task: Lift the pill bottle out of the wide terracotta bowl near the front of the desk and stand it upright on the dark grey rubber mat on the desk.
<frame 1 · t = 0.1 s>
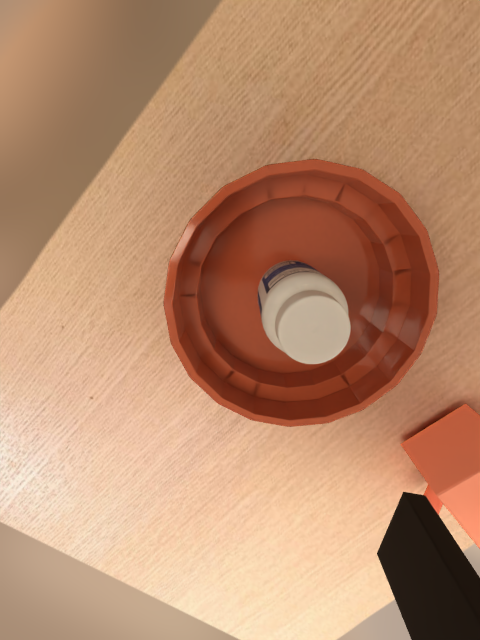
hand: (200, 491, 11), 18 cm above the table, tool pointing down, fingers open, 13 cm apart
pink cube teapot: (440, 446, 32), on the table
bowl: (289, 291, 28), on the table
pill bottle: (289, 291, 28), resting on bowl
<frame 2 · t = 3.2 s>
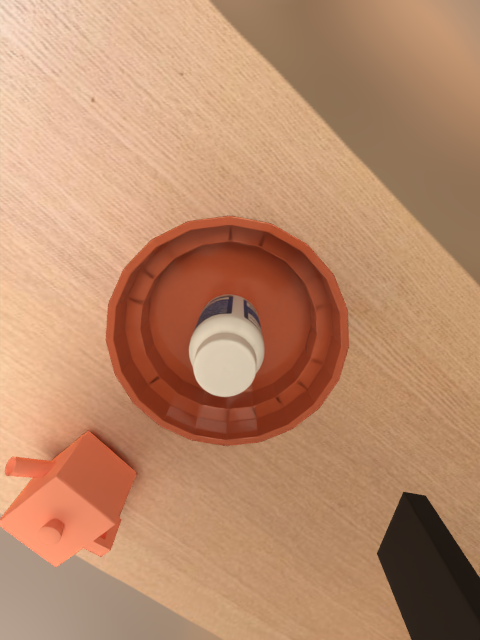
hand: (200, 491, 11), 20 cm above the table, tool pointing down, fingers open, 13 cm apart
pink cube teapot: (88, 460, 35), on the table
bowl: (229, 321, 31), on the table
pill bottle: (229, 321, 31), resting on bowl
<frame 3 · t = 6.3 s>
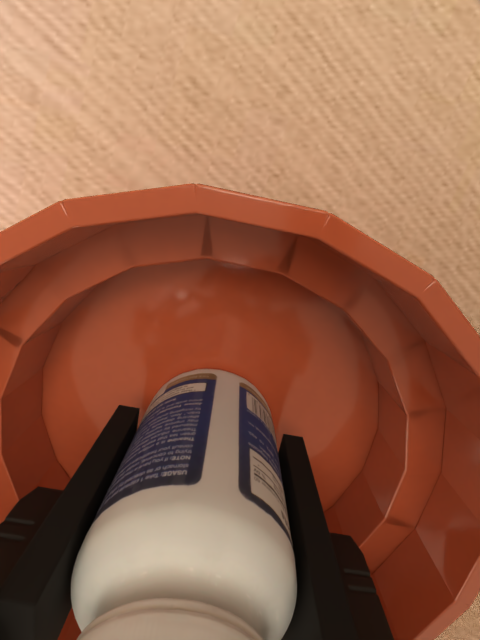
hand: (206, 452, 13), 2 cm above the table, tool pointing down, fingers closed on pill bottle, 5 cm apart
bowl: (211, 417, 15), on the table
pill bottle: (211, 418, 15), resting on bowl, touching gripper
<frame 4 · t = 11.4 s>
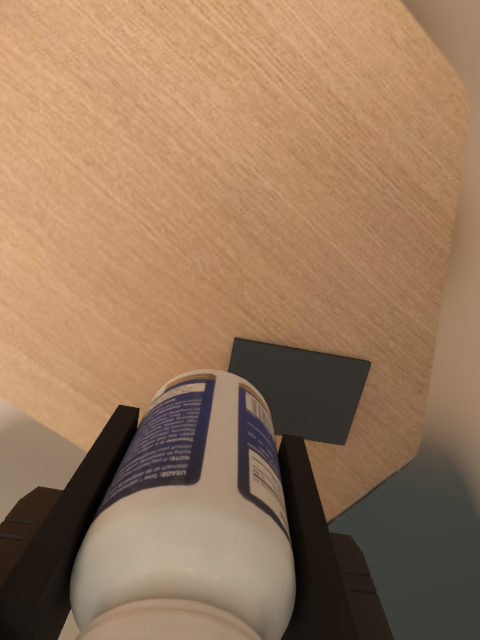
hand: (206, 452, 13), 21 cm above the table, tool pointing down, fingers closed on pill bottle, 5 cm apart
mat: (291, 392, 35), on the table
pill bottle: (210, 418, 15), point 19 cm above the table, touching gripper
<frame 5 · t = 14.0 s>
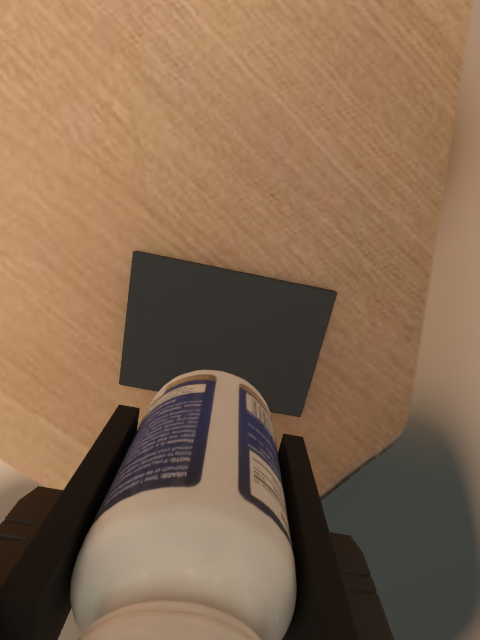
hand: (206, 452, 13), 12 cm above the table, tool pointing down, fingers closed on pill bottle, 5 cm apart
mat: (223, 337, 25), on the table
pill bottle: (210, 419, 15), point 10 cm above the table, touching gripper
when the fingers open (3 cm above the table, at t = 16.5 s): pill bottle stays where it is, resting on mat.
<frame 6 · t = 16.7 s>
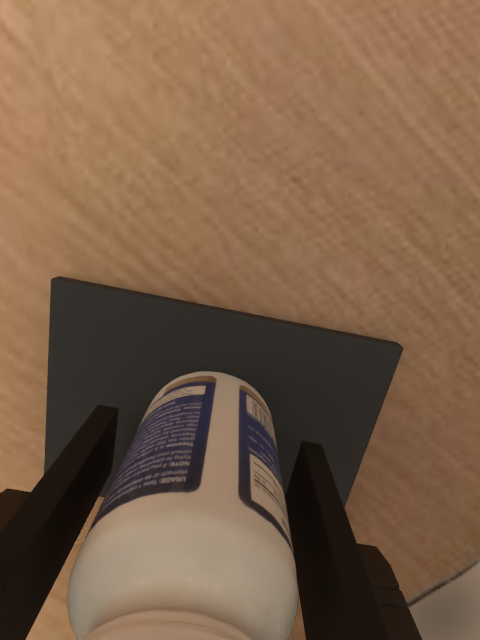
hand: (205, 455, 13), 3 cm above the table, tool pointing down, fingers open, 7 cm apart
mat: (211, 415, 15), on the table
pill bottle: (210, 421, 15), resting on mat
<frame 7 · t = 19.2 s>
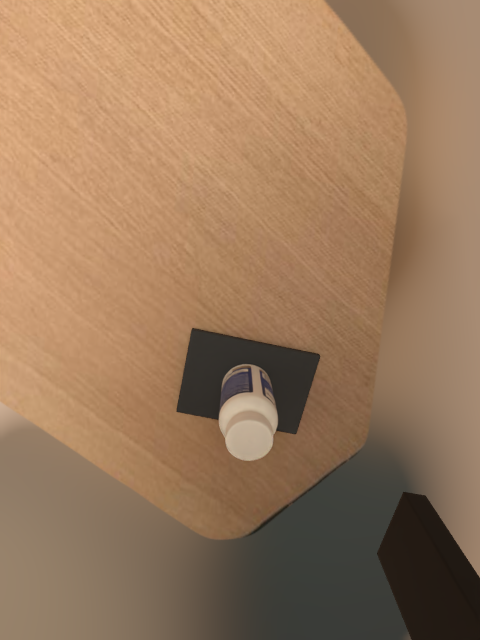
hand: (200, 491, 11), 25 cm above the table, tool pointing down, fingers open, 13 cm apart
mat: (246, 382, 38), on the table
pill bottle: (246, 384, 37), resting on mat
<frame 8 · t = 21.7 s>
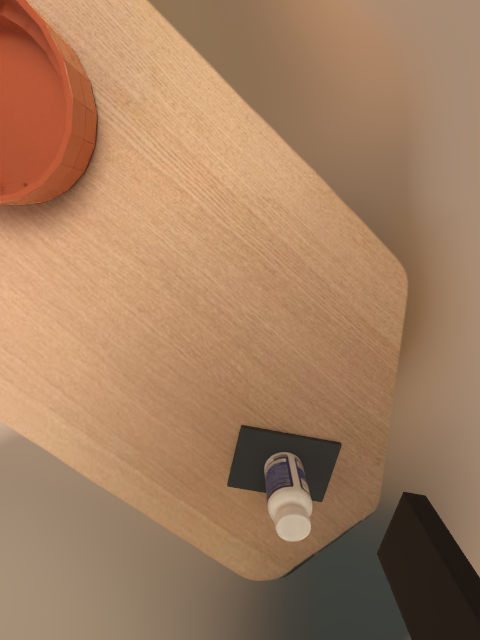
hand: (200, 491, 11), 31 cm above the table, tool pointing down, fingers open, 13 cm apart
mat: (282, 463, 48), on the table
bowl: (9, 111, 35), on the table
pill bottle: (283, 465, 47), resting on mat
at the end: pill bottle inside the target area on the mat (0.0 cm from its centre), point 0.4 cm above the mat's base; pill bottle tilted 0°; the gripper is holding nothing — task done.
